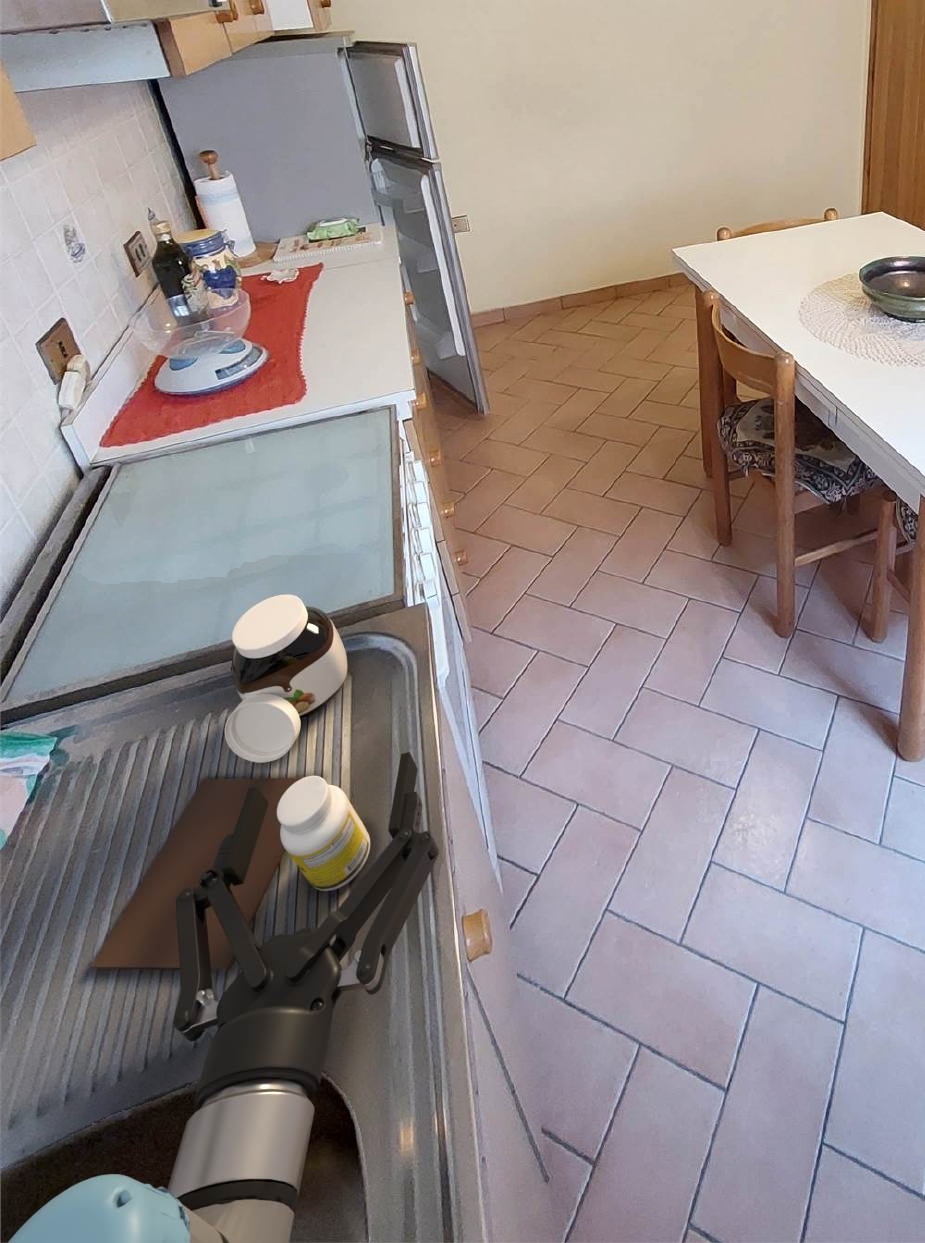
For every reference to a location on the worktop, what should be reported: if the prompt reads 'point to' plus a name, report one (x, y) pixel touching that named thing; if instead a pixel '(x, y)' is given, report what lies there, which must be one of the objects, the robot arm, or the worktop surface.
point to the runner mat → (196, 877)
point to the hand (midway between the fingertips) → (335, 777)
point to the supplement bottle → (322, 833)
